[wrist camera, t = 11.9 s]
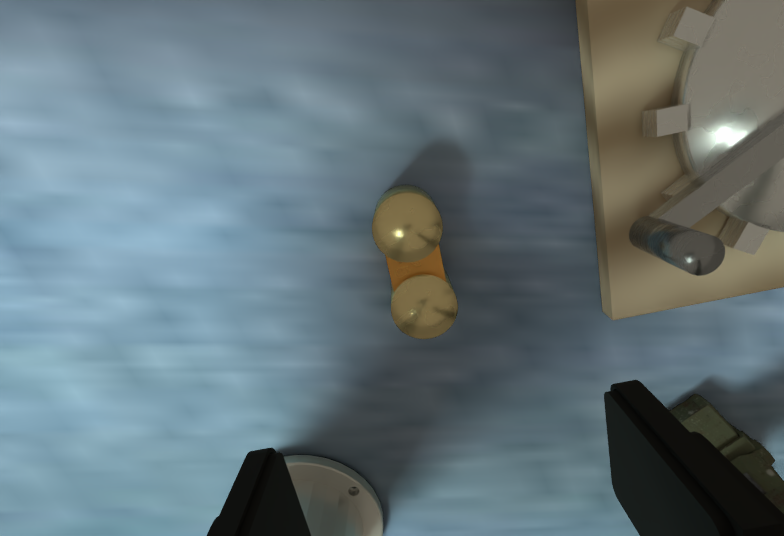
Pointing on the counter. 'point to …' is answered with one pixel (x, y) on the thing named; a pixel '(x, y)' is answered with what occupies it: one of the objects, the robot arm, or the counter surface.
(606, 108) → the sprocket plate
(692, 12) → the sprocket
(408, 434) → the counter surface
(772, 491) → the mechanical leg
